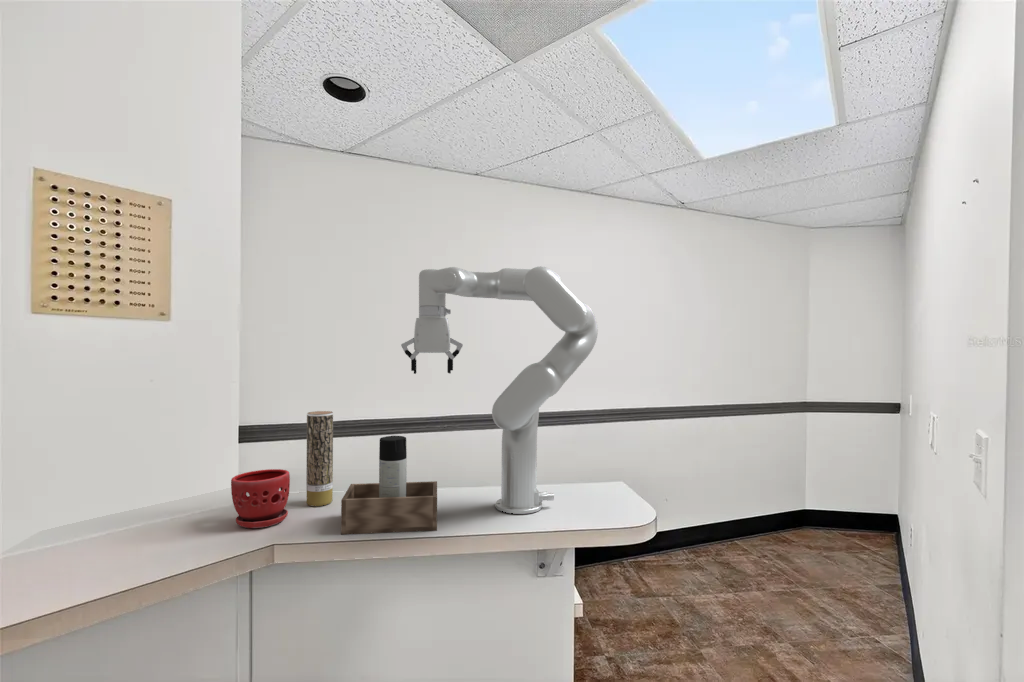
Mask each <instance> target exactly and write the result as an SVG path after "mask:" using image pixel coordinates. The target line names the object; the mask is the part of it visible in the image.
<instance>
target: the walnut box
mask: <svg viewBox="0 0 1024 682" xmlns="http://www.w3.org/2000/svg"><path fill="white" fill-rule="evenodd" d="M340 504H341V505H340V506H341V509H340V511H341V512H340V515H341V516H340V517H341V518H340V521H341V522H340V535H346V536H347V535H361V534H362V535H363V534H364V535H365V534H385V533H386V534H387V533H389V534H390V533H406V532H407V533H412V532H435V531H438V481H436V480H433V481H406V497H384V498H379V482H373V483H372V482H370V483H367V482H366V483H351V484H349V486H348V488H347V490H346V492H345V494H344V495H343V497H342V498H341V502H340Z"/></svg>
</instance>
